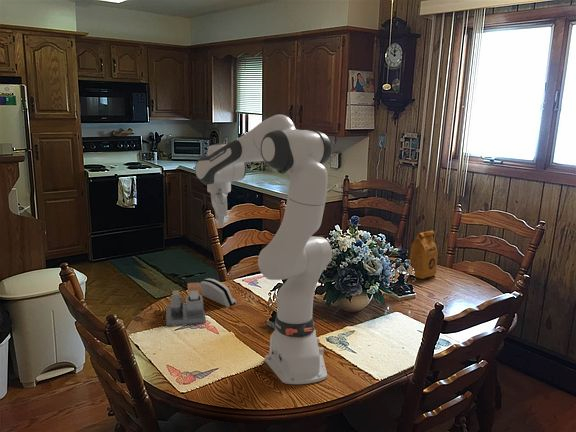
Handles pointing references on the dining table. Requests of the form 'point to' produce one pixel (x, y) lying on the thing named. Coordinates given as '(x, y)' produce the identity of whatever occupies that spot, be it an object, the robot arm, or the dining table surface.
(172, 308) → the grey twin-post block
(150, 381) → the dining table surface
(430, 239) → the coffee package
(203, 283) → the napkin holder
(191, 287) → the tan capped white cylinder
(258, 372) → the dining table surface
